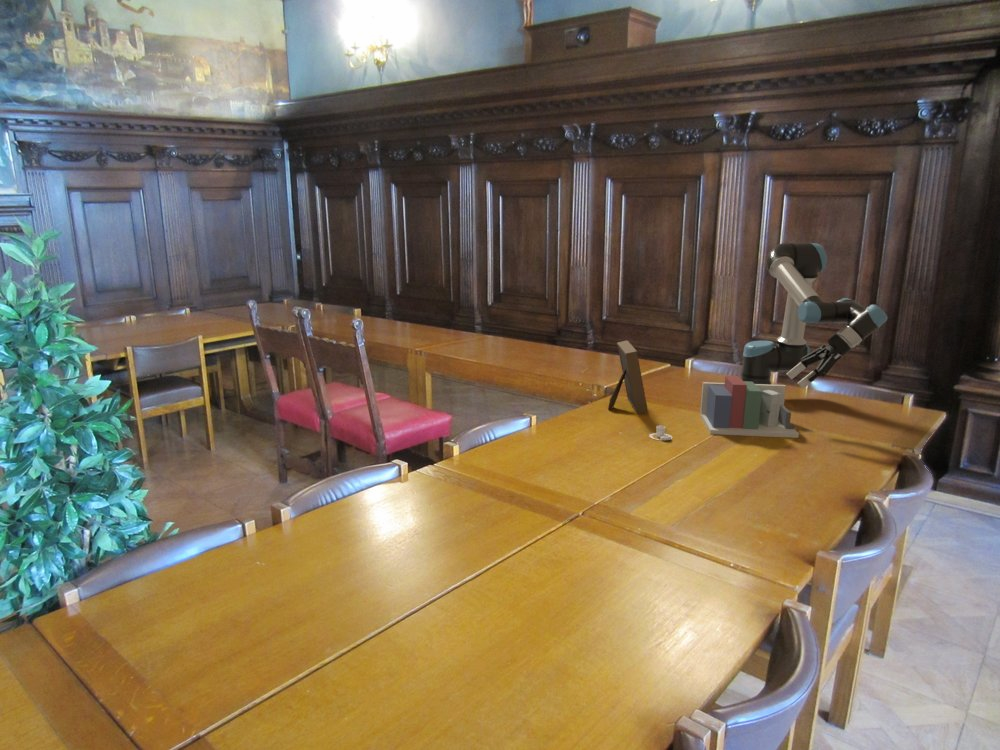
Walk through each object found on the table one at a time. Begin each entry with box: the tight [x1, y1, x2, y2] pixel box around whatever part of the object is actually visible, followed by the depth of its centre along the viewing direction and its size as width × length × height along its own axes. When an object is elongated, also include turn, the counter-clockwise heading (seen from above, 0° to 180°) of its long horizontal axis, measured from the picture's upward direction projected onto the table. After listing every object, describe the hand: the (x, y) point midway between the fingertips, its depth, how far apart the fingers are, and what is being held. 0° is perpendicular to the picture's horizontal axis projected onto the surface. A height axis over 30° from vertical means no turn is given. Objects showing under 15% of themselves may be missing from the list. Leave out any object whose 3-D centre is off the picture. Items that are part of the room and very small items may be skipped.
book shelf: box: [699, 375, 800, 439], centre depth 244 cm, size 22×30×18 cm
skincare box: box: [759, 390, 782, 427], centre depth 243 cm, size 6×4×12 cm
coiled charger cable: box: [648, 424, 673, 441], centre depth 234 cm, size 9×8×4 cm
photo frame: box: [607, 340, 649, 415], centre depth 268 cm, size 15×22×25 cm
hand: (794, 381), depth 239 cm, fingers open, 13 cm apart
